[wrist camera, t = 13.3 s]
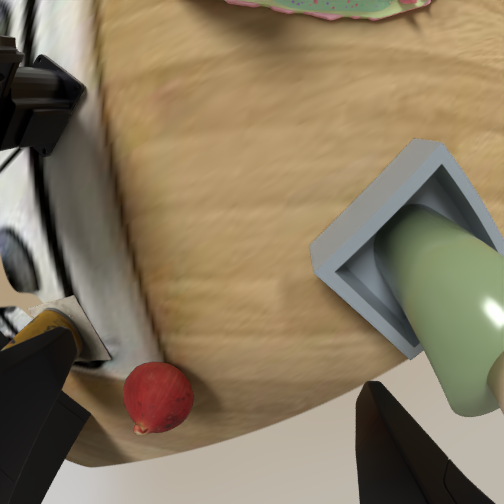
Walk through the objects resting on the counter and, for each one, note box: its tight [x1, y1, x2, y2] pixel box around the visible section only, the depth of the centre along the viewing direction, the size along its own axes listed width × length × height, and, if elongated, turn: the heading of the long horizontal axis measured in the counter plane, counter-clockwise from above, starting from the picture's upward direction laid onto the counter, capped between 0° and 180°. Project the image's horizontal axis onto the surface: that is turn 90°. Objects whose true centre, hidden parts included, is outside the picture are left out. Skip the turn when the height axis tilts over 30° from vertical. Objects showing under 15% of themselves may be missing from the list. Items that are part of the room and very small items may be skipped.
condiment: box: [1, 295, 111, 365], centre depth 21 cm, size 7×8×12 cm
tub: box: [309, 138, 504, 360], centre depth 17 cm, size 10×10×4 cm
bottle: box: [373, 204, 504, 417], centre depth 12 cm, size 6×6×14 cm
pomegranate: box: [123, 362, 194, 435], centre depth 22 cm, size 6×6×8 cm
